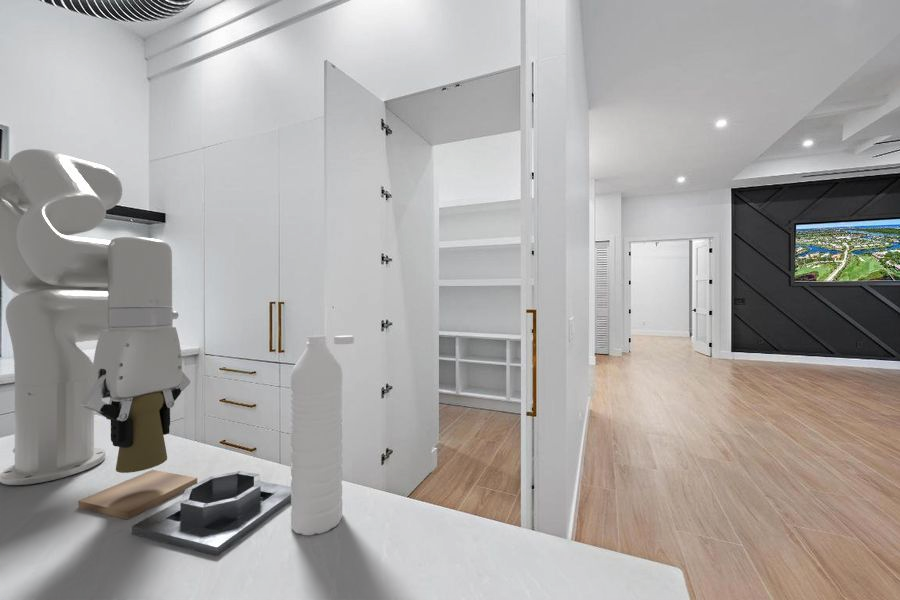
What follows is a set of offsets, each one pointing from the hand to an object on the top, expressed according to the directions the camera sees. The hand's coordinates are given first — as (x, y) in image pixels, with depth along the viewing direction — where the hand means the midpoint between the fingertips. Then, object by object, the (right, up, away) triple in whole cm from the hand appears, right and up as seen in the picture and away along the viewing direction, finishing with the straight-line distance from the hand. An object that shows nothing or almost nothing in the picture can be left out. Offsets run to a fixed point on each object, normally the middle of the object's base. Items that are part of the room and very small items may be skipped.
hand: (142, 438), depth 56 cm
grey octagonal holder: (+15, -9, -4) cm, 18 cm away
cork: (0, -4, 0) cm, 4 cm away
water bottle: (+30, -9, -7) cm, 32 cm away
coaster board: (0, -9, 0) cm, 9 cm away
